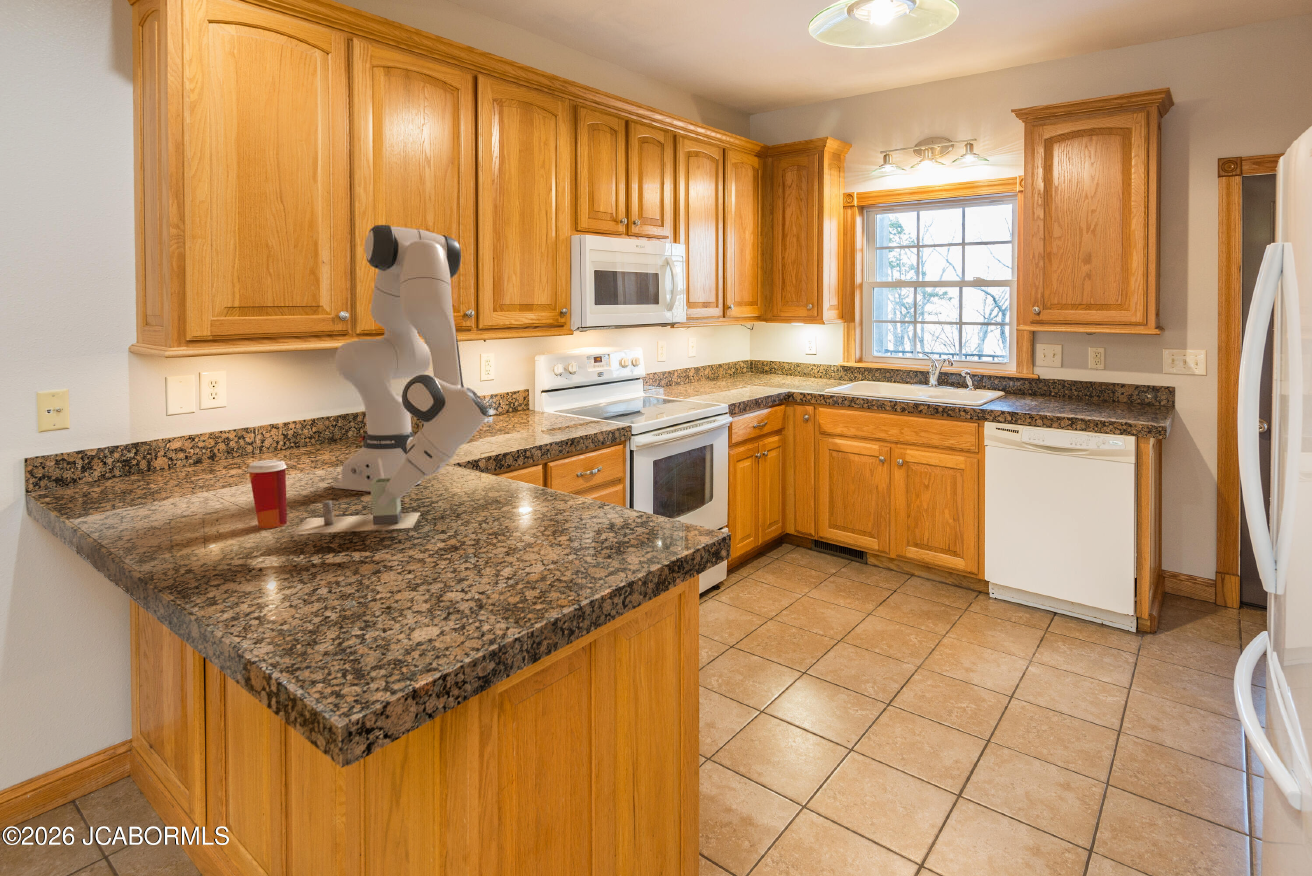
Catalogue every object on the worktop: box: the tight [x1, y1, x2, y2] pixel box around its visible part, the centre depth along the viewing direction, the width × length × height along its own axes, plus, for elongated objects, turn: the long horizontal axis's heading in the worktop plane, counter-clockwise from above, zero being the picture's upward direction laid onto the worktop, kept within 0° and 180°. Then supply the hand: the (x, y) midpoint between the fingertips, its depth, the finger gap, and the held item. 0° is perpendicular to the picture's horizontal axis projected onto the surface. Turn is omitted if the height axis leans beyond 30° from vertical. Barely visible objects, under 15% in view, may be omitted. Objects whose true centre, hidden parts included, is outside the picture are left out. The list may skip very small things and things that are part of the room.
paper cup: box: [247, 459, 288, 530], centre depth 166 cm, size 8×8×14 cm
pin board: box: [290, 500, 421, 535], centre depth 162 cm, size 24×12×6 cm, turn 100°
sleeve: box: [370, 478, 402, 525], centre depth 163 cm, size 5×5×9 cm
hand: (383, 499), depth 163 cm, fingers closed on sleeve, 5 cm apart
